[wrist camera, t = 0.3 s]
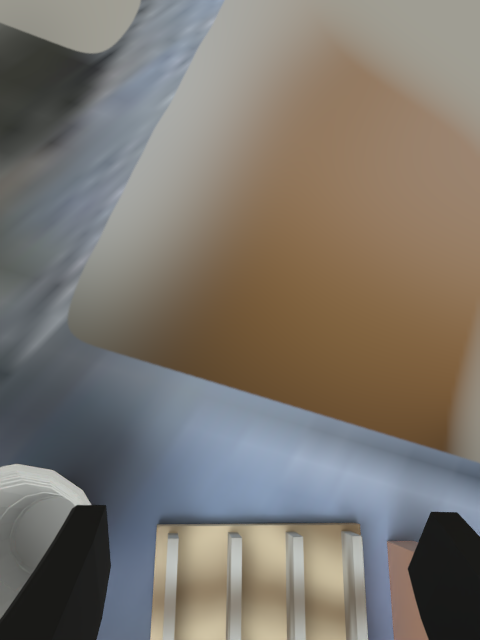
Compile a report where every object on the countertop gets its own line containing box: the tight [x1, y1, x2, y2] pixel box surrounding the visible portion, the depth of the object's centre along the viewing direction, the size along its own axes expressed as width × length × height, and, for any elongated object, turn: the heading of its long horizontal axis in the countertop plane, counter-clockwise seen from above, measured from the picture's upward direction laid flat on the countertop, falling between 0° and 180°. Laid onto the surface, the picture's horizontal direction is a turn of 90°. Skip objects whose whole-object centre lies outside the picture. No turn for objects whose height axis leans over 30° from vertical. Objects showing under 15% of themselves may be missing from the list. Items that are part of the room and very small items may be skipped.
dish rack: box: [150, 523, 368, 640], centre depth 35 cm, size 11×17×4 cm, turn 89°
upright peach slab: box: [387, 541, 429, 640], centre depth 35 cm, size 8×2×7 cm, turn 179°
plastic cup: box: [0, 464, 91, 619], centre depth 30 cm, size 11×11×12 cm
